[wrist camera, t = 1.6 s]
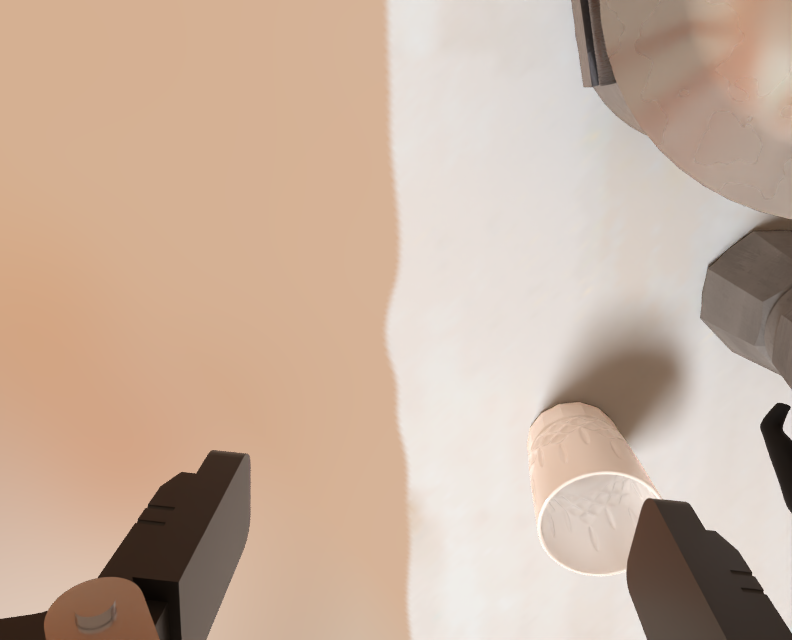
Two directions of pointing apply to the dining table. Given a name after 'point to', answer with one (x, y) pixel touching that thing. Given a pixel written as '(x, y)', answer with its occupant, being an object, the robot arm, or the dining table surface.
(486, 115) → the dining table surface
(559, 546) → the white cup
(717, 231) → the dining table surface
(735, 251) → the coffeepot
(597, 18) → the lid
